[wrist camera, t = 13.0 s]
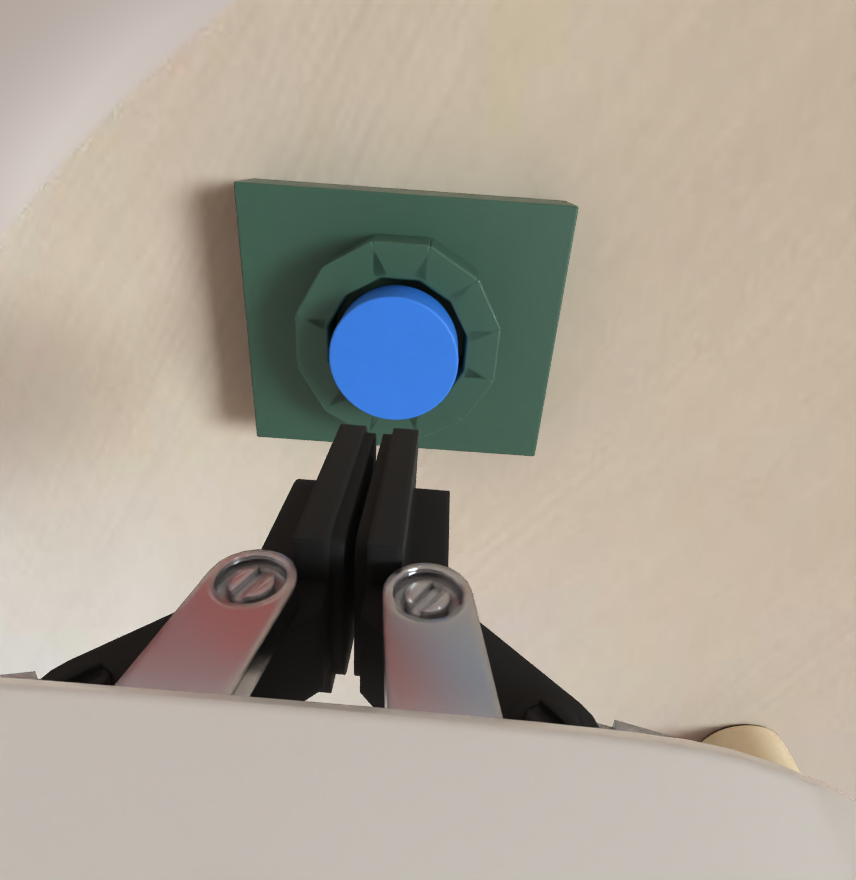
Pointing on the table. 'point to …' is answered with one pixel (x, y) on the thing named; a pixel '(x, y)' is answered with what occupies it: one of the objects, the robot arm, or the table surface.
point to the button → (394, 352)
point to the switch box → (408, 264)
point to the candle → (754, 743)
